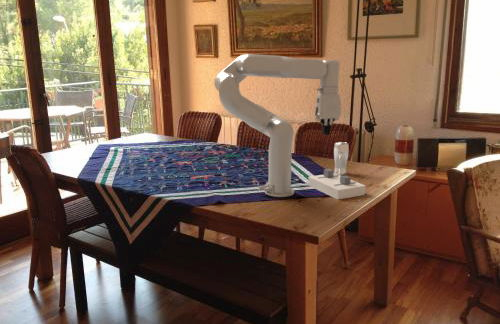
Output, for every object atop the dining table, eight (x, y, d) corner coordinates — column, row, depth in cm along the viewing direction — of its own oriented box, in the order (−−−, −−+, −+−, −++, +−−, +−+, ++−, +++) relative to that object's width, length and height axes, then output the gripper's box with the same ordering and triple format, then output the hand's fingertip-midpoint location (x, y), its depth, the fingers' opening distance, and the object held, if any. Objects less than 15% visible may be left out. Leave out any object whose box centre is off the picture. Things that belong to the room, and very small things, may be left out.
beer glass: (347, 175, 220) (349, 145, 217) (332, 174, 222) (334, 144, 218) (347, 171, 227) (348, 142, 223) (333, 171, 228) (334, 141, 225)
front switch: (344, 184, 191) (344, 178, 191) (339, 182, 194) (340, 176, 193) (350, 183, 193) (350, 177, 192) (345, 181, 195) (346, 175, 195)
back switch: (327, 177, 202) (328, 171, 201) (323, 175, 205) (323, 169, 204) (333, 176, 203) (333, 170, 202) (329, 174, 206) (329, 168, 205)
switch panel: (337, 199, 186) (338, 189, 185) (308, 185, 205) (308, 176, 204) (364, 194, 192) (365, 185, 191) (333, 181, 211) (334, 172, 210)
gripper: (317, 91, 182) (315, 136, 187) (349, 91, 188) (346, 134, 192) (308, 90, 189) (306, 133, 194) (339, 89, 195) (336, 131, 199)
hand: (326, 134), depth 193 cm, fingers closed
